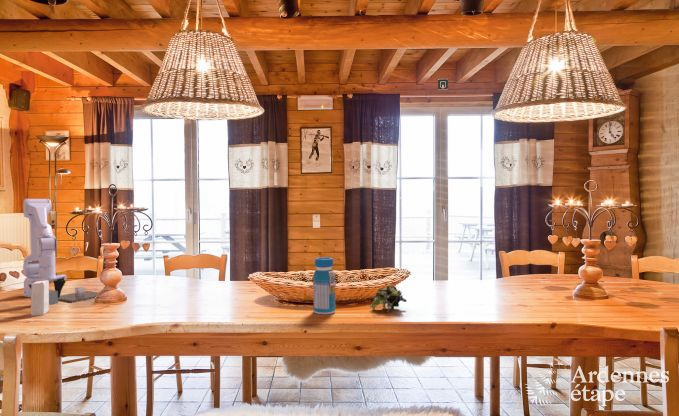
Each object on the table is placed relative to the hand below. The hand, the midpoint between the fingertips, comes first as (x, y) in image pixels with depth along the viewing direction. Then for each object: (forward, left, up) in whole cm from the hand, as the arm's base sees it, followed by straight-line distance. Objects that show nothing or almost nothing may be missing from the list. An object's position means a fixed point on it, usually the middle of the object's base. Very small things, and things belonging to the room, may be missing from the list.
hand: (47, 299), depth 188 cm
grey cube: (0, 0, -2) cm, 2 cm away
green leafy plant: (+130, +53, -2) cm, 140 cm away
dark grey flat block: (-1, +14, -2) cm, 14 cm away
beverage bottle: (+110, +40, -2) cm, 117 cm away
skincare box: (+16, -11, -2) cm, 20 cm away
